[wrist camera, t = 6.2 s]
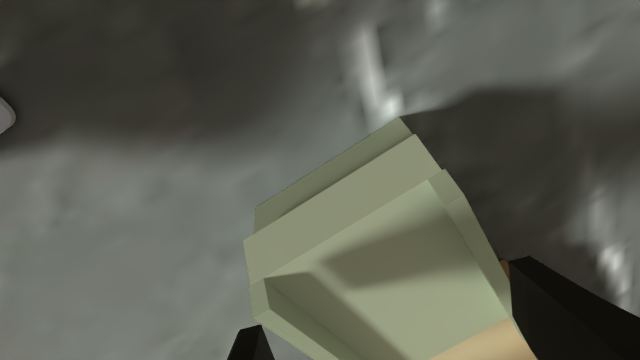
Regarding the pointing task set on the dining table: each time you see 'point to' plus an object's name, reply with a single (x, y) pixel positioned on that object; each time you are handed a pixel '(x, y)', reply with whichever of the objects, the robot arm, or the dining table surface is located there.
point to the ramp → (375, 257)
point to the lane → (492, 342)
